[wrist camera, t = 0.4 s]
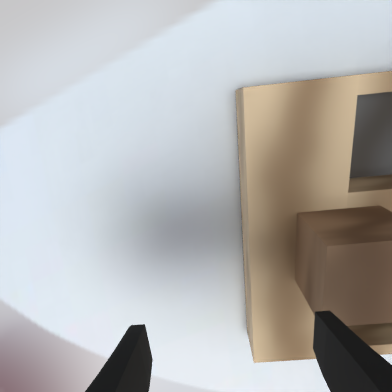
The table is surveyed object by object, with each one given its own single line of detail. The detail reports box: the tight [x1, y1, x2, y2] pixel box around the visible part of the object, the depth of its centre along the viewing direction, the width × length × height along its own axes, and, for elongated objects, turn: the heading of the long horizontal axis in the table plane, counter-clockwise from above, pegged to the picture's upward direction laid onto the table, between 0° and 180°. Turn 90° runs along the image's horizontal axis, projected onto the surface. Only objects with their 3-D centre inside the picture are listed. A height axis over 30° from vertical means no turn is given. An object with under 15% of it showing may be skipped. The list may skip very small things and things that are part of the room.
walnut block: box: [295, 205, 392, 326], centre depth 15 cm, size 5×5×4 cm
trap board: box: [236, 71, 392, 363], centre depth 18 cm, size 18×20×3 cm
